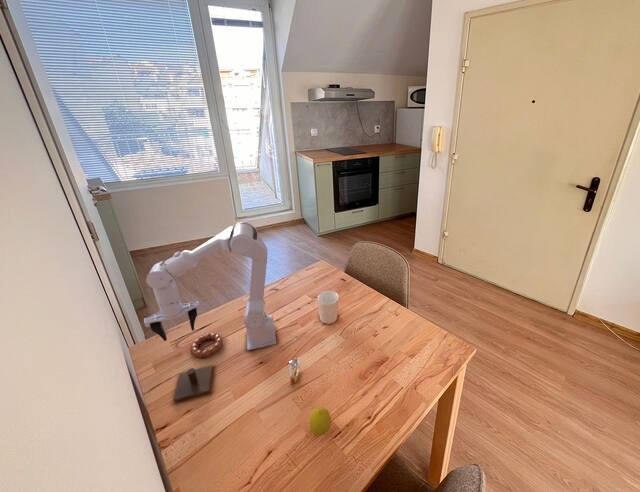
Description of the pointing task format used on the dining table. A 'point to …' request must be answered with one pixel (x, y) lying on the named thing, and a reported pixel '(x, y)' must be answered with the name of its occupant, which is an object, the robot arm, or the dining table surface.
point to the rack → (193, 383)
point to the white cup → (328, 306)
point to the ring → (295, 364)
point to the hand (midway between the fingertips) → (179, 333)
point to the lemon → (320, 421)
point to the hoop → (201, 339)
